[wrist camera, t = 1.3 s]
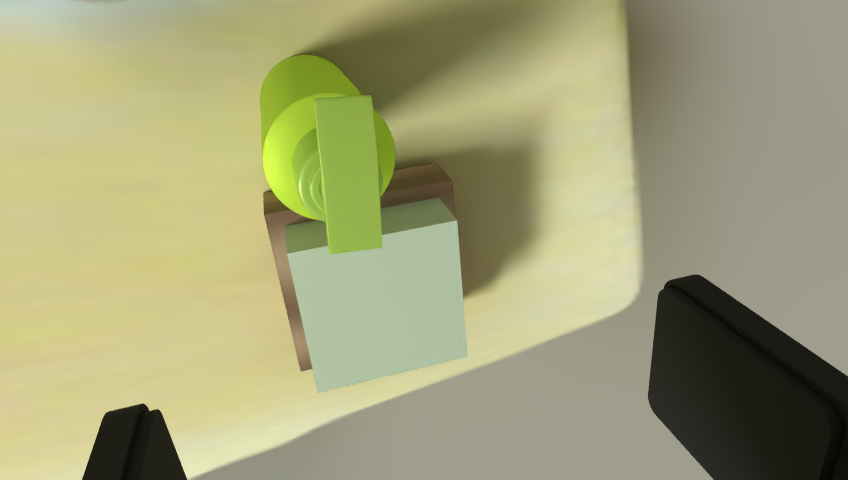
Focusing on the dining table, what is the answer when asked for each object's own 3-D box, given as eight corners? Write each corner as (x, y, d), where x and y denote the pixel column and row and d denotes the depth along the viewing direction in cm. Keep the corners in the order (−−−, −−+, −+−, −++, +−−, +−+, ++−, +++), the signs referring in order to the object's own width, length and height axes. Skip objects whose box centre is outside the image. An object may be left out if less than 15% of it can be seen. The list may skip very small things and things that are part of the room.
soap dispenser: (348, 34, 36) (435, 93, 19) (356, 142, 39) (438, 281, 22) (251, 39, 35) (247, 106, 17) (266, 150, 38) (276, 305, 20)
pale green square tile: (283, 226, 36) (287, 253, 33) (438, 197, 38) (457, 220, 34) (312, 356, 40) (318, 393, 37) (449, 324, 42) (467, 356, 39)
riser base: (263, 192, 39) (264, 214, 35) (435, 162, 41) (451, 180, 38) (297, 339, 44) (300, 371, 41) (448, 305, 47) (463, 333, 43)
